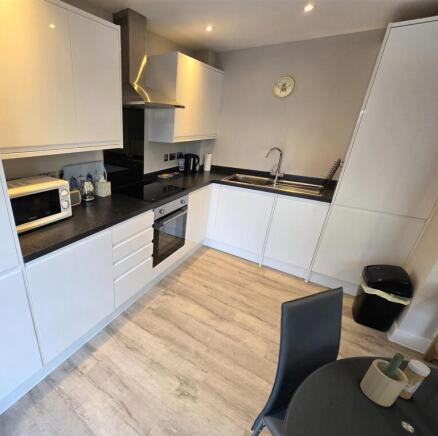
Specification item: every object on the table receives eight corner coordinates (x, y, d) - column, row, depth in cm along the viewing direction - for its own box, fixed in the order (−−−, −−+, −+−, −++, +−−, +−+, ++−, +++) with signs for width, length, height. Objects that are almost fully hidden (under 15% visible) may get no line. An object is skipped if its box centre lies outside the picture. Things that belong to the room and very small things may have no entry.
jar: (386, 388, 84) (401, 366, 79) (396, 411, 77) (412, 389, 73) (357, 376, 87) (370, 355, 83) (363, 398, 80) (377, 375, 76)
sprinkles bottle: (388, 387, 84) (407, 360, 79) (398, 384, 85) (416, 357, 80) (404, 401, 80) (424, 373, 75) (413, 398, 81) (434, 370, 76)
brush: (381, 389, 82) (406, 353, 76) (385, 400, 79) (411, 363, 72) (367, 383, 84) (389, 347, 77) (370, 394, 81) (394, 357, 74)
